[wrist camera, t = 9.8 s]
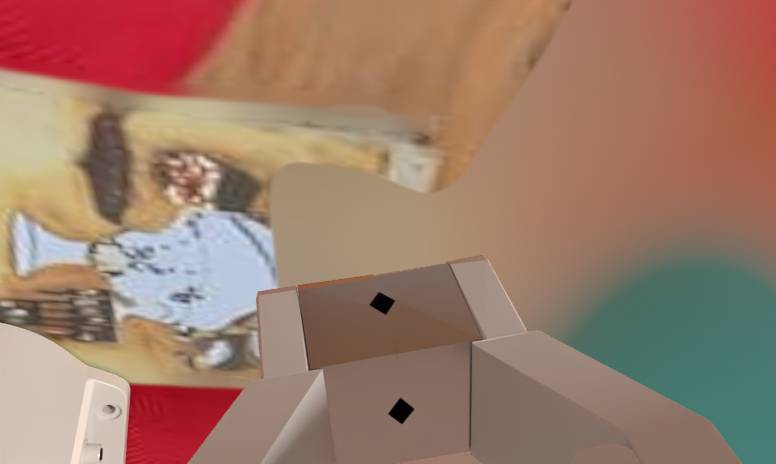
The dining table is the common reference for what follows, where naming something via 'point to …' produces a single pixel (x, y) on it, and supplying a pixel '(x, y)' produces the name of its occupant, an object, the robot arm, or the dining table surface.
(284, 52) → the dining table surface
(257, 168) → the dining table surface
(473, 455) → the robot arm
